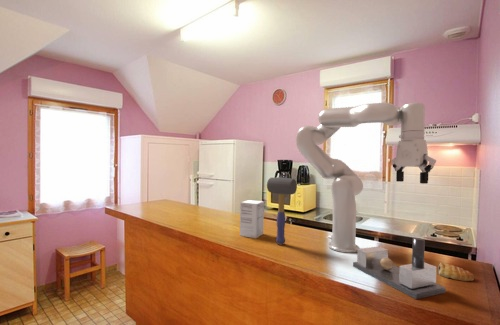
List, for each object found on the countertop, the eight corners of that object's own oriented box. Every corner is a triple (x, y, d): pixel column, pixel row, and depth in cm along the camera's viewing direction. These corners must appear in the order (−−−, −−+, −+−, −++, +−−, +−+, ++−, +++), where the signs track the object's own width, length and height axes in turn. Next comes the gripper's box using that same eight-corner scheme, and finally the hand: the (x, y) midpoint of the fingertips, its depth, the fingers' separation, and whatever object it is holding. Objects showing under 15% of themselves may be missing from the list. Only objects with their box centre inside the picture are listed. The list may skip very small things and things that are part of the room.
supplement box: (247, 231, 140) (248, 199, 140) (263, 233, 136) (264, 201, 136) (239, 235, 131) (239, 201, 131) (256, 238, 127) (256, 203, 127)
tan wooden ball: (377, 268, 90) (377, 256, 90) (386, 267, 91) (386, 255, 91) (387, 273, 86) (387, 260, 86) (396, 271, 87) (396, 259, 87)
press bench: (352, 266, 95) (353, 248, 95) (378, 262, 99) (378, 245, 99) (415, 299, 72) (416, 275, 72) (445, 292, 77) (445, 270, 77)
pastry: (471, 276, 89) (471, 265, 89) (476, 284, 83) (476, 272, 83) (437, 270, 93) (437, 259, 93) (439, 277, 88) (439, 266, 88)
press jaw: (399, 282, 78) (400, 238, 78) (423, 278, 82) (423, 236, 82) (411, 288, 75) (412, 242, 75) (436, 283, 78) (437, 239, 78)
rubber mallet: (264, 243, 120) (265, 177, 120) (272, 239, 126) (273, 176, 126) (289, 249, 113) (291, 178, 113) (296, 244, 119) (298, 177, 119)
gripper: (385, 138, 106) (384, 180, 106) (427, 133, 90) (426, 184, 90) (399, 139, 109) (398, 180, 109) (443, 135, 93) (441, 184, 93)
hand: (411, 182), depth 99 cm, fingers open, 9 cm apart
